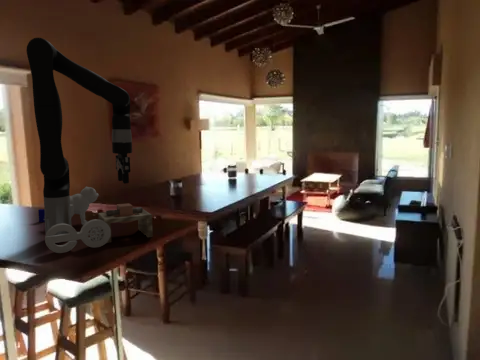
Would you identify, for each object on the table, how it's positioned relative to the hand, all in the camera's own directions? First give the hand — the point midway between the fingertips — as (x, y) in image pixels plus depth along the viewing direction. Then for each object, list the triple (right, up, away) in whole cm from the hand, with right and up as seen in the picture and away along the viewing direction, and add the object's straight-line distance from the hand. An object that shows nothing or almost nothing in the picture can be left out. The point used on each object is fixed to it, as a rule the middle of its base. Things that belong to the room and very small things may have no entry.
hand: (123, 182), depth 162 cm
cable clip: (-46, -18, +34) cm, 60 cm away
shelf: (0, -22, +3) cm, 22 cm away
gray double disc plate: (-11, -24, -15) cm, 31 cm away
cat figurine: (-28, -20, +21) cm, 41 cm away
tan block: (0, -16, +2) cm, 16 cm away
